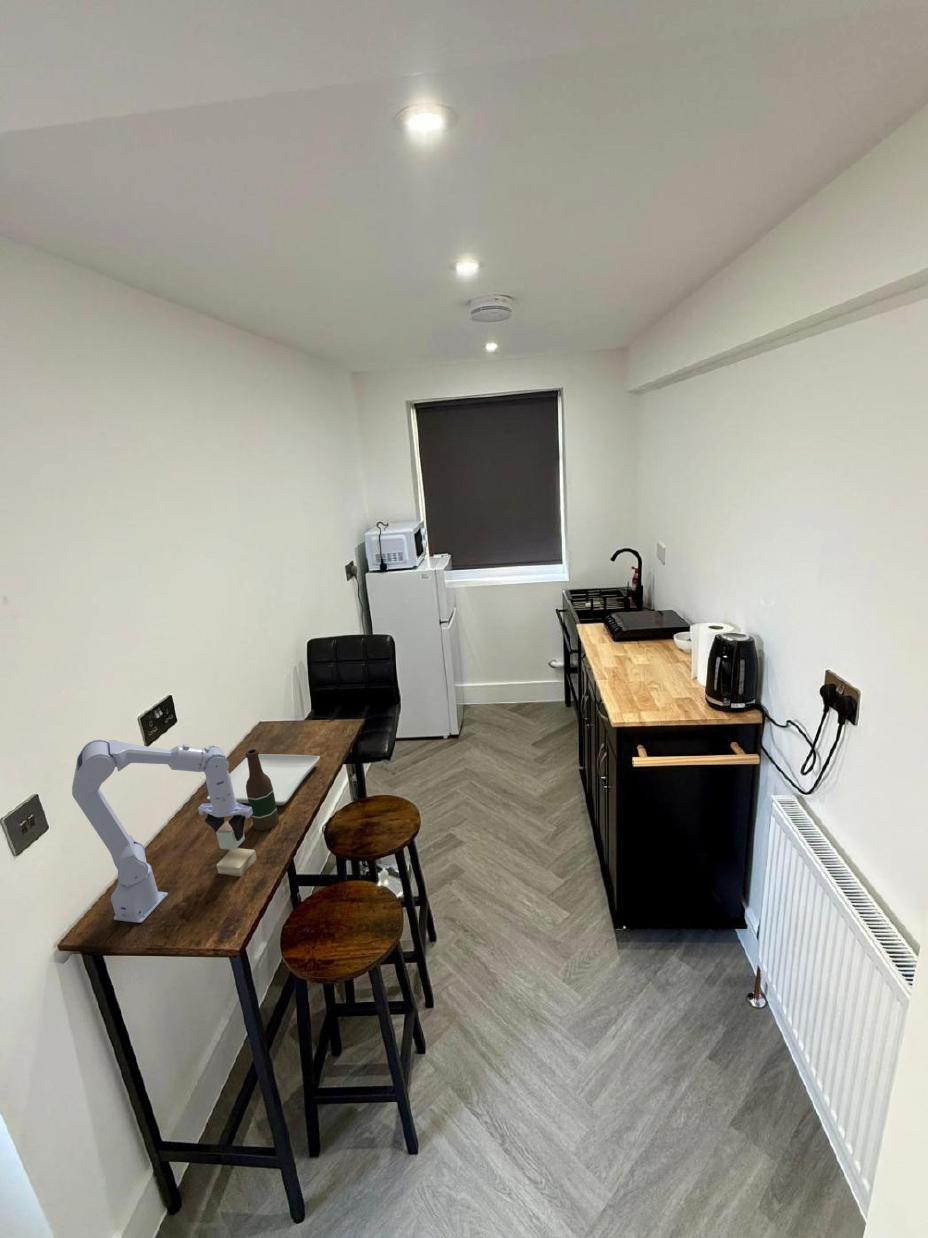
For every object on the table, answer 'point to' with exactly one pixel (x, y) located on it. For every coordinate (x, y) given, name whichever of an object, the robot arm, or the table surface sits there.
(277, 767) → the square plate
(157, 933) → the table surface
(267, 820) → the beer bottle
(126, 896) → the robot arm
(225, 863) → the base block
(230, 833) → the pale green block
